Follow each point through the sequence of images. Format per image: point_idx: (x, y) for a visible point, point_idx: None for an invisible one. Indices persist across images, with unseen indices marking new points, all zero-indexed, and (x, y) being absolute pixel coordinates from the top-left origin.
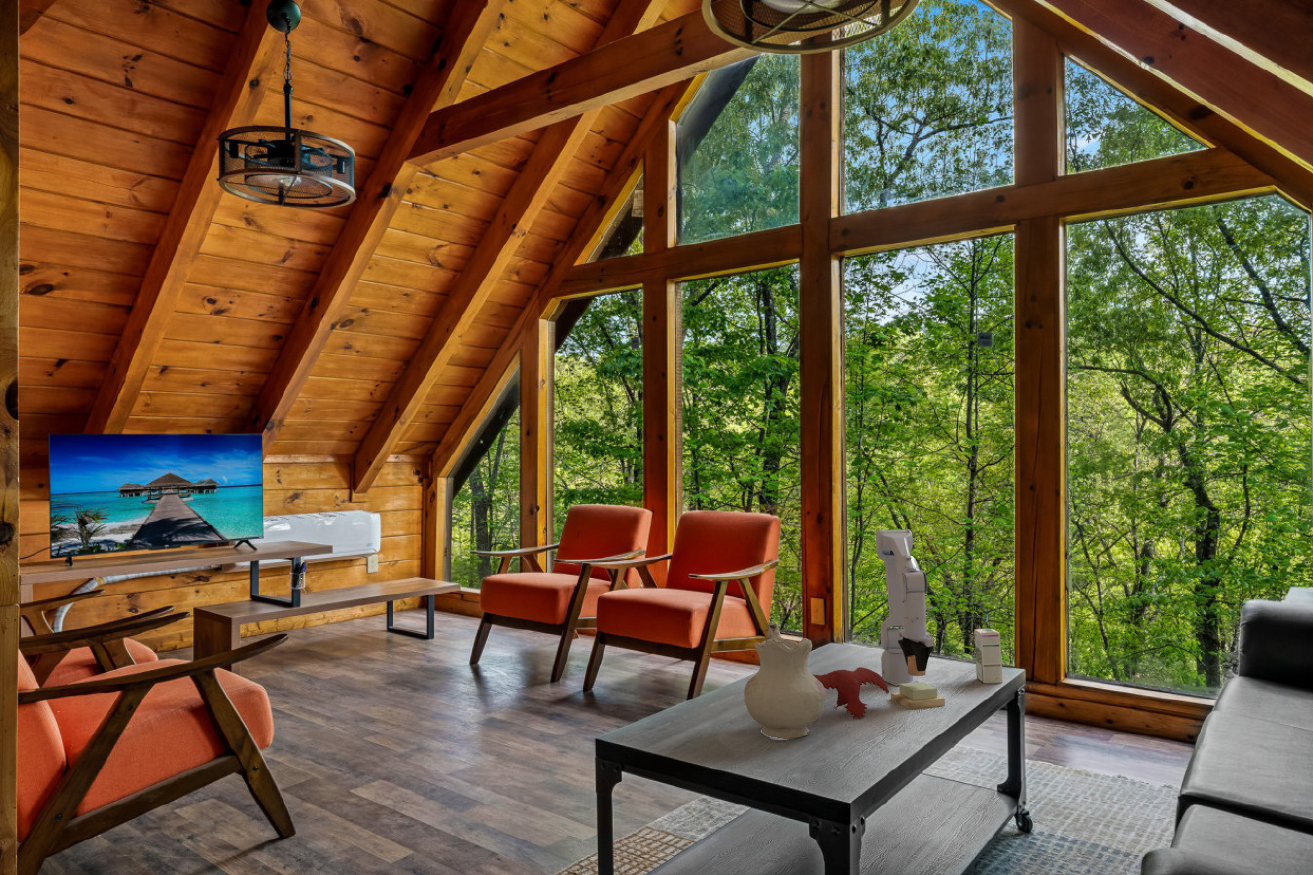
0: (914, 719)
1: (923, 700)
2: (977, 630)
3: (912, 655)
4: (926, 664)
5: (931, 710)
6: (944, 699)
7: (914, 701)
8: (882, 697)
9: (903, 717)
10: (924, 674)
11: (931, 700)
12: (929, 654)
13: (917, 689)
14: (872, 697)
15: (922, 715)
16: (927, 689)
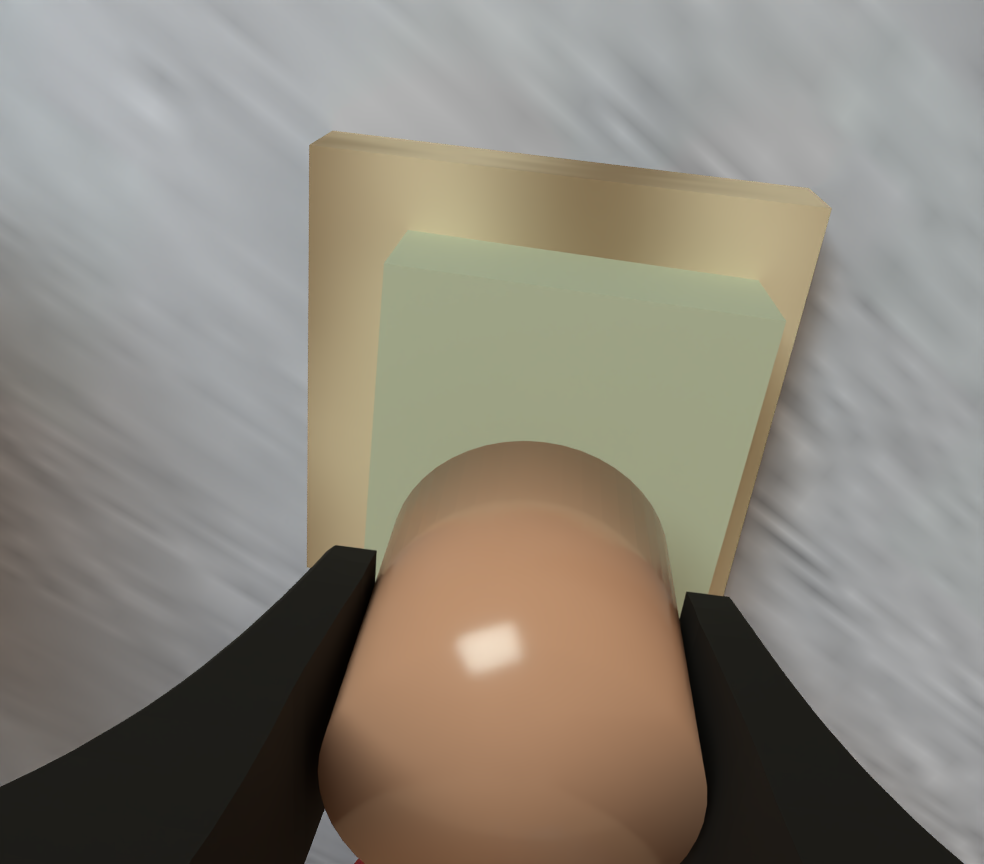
0: (961, 730)
1: (740, 482)
2: None
3: (336, 763)
4: (773, 670)
5: (860, 449)
6: (826, 207)
7: (714, 578)
8: (238, 550)
9: (858, 760)
10: (660, 527)
11: (776, 391)
12: (940, 854)
13: (684, 572)
14: (207, 618)
15: (924, 615)
16: (743, 461)
